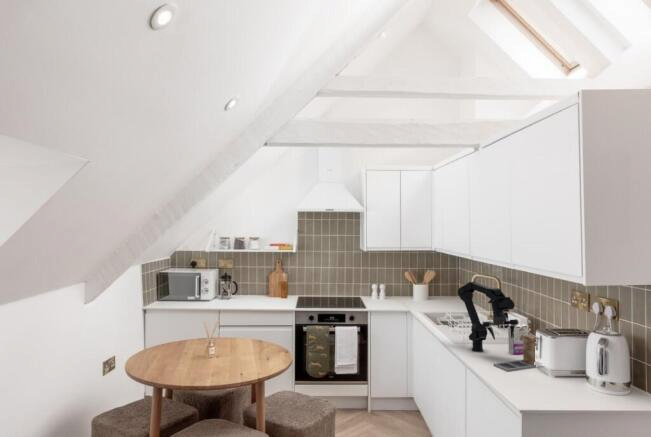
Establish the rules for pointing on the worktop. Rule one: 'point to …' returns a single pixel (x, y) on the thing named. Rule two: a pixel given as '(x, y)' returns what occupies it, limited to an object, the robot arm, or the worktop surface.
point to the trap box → (514, 365)
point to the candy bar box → (517, 339)
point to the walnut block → (529, 349)
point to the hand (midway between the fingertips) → (503, 339)
